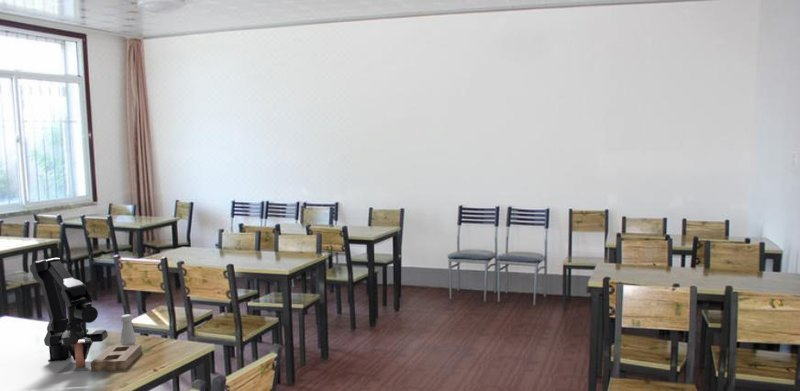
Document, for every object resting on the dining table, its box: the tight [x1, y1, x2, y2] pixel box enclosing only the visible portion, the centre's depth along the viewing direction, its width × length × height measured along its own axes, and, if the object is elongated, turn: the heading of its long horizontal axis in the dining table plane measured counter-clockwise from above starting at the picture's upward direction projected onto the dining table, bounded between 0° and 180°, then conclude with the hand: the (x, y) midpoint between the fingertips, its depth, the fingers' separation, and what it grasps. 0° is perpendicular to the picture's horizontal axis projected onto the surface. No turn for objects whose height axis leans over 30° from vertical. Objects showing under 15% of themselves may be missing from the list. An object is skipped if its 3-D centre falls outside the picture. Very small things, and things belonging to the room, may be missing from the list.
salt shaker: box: [119, 313, 137, 345], centre depth 248 cm, size 6×6×13 cm
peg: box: [74, 340, 87, 368], centre depth 226 cm, size 3×3×9 cm
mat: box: [57, 360, 93, 373], centre depth 227 cm, size 10×10×1 cm
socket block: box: [90, 343, 143, 372], centre depth 231 cm, size 12×18×4 cm, turn 5°
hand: (80, 359), depth 227 cm, fingers closed on peg, 3 cm apart
